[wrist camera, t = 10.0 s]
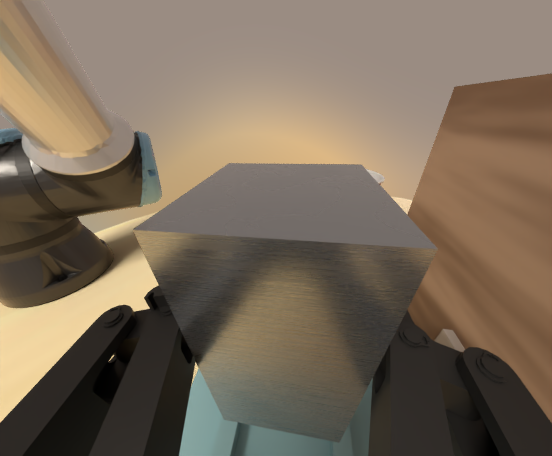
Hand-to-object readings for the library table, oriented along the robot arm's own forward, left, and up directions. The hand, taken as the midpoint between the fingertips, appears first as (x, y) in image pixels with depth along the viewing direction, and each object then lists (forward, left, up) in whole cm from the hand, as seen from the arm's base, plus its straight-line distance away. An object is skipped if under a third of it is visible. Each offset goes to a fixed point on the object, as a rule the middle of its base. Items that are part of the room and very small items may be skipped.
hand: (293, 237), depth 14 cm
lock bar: (+5, -1, -6) cm, 8 cm away
